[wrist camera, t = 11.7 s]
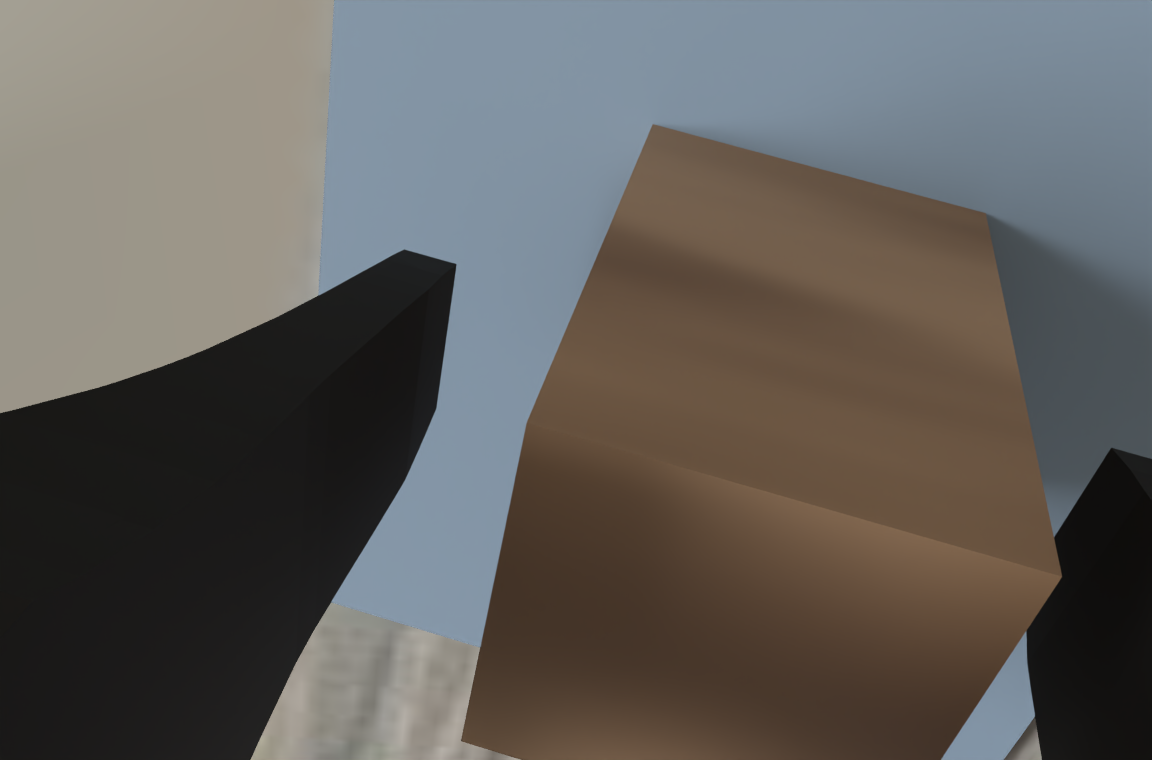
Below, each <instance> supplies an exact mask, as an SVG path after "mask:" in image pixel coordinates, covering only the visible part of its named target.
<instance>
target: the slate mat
mask: <svg viewBox="0 0 1152 760" xmlns="http://www.w3.org/2000/svg"><path fill="white" fill-rule="evenodd" d="M653 124H654V125H658V126H662V127H665V128H669V129H673V130H677V131H680V132H684V133H688V134H692V135H695V136H699V137H703V138H707V139H710V140H714V141H718V142H722V143H725V144H729V145H733V146H737V147H740V148H744V149H748V150H751V151H755V152H759V153H763V154H766V155H770V156H774V157H778V158H781V159H785V160H789V161H793V162H796V163H800V164H804V165H808V166H811V167H815V168H819V169H823V170H826V171H830V172H834V173H838V174H841V175H845V176H849V177H852V178H856V179H860V180H864V181H867V182H871V183H875V184H879V185H882V186H886V187H890V188H894V189H897V190H901V191H905V192H909V193H912V194H916V195H920V196H924V197H927V198H931V199H935V200H938V201H942V202H946V203H950V204H953V205H957V206H961V207H965V208H968V209H972V210H976V211H980V212H983V213H986V217H987V221H988V226H989V231H990V236H991V240H992V245H993V250H994V255H995V259H996V264H997V269H998V274H999V278H1000V283H1001V288H1002V293H1003V298H1004V302H1005V307H1006V312H1007V317H1008V321H1009V326H1010V331H1011V336H1012V340H1013V345H1014V350H1015V355H1016V359H1017V364H1018V369H1019V374H1020V378H1021V383H1022V388H1023V393H1024V397H1025V402H1026V407H1027V412H1028V417H1029V421H1030V426H1031V431H1032V436H1033V440H1034V445H1035V450H1036V455H1037V459H1038V464H1039V469H1040V474H1041V478H1042V483H1043V488H1044V493H1045V497H1046V502H1047V507H1048V512H1049V517H1050V521H1051V526H1052V531H1053V536H1054V537H1055V535H1056V533H1057V532H1058V530H1059V529H1060V527H1061V526H1062V524H1063V522H1064V521H1065V519H1066V518H1067V516H1068V515H1069V513H1070V511H1071V510H1072V508H1073V507H1074V505H1075V504H1076V502H1077V500H1078V499H1079V497H1080V496H1081V494H1082V493H1083V491H1084V489H1085V488H1086V486H1087V485H1088V483H1089V482H1090V480H1091V479H1092V477H1093V475H1094V474H1095V472H1096V471H1097V469H1098V468H1099V466H1100V464H1101V463H1102V461H1103V460H1104V458H1105V457H1106V455H1107V453H1108V452H1109V450H1110V449H1111V448H1115V449H1118V450H1122V451H1125V452H1129V453H1132V454H1136V455H1139V456H1143V457H1147V458H1150V459H1152V0H334V14H333V33H332V52H331V70H330V89H329V108H328V127H327V145H326V164H325V183H324V201H323V220H322V239H321V257H320V276H319V295H321V294H323V293H324V292H326V291H328V290H330V289H332V288H334V287H335V286H337V285H339V284H341V283H343V282H344V281H346V280H348V279H350V278H352V277H354V276H355V275H357V274H359V273H361V272H363V271H364V270H366V269H368V268H370V267H372V266H374V265H375V264H377V263H379V262H381V261H383V260H385V259H386V258H388V257H390V256H392V255H394V254H396V253H398V252H400V251H402V250H404V249H405V250H408V251H412V252H415V253H419V254H423V255H426V256H430V257H433V258H437V259H440V260H444V261H448V262H451V263H455V264H457V266H456V273H455V280H454V288H453V295H452V302H451V309H450V316H449V323H448V330H447V337H446V344H445V351H444V358H443V365H442V372H441V380H440V387H439V394H438V401H437V408H436V411H435V413H434V416H433V418H432V420H431V423H430V425H429V427H428V430H427V432H426V434H425V437H424V439H423V441H422V444H421V446H420V448H419V451H418V453H417V455H416V457H415V459H414V462H413V464H412V466H411V468H410V471H409V473H408V475H407V477H406V479H405V481H404V483H403V485H402V486H401V488H400V490H399V491H398V493H397V495H396V497H395V498H394V500H393V501H392V503H391V505H390V506H389V508H388V510H387V511H386V513H385V515H384V516H383V518H382V520H381V521H380V523H379V525H378V526H377V528H376V530H375V531H374V533H373V535H372V536H371V538H370V539H369V541H368V543H367V544H366V546H365V548H364V549H363V551H362V552H361V554H360V556H359V557H358V559H357V561H356V562H355V564H354V566H353V567H352V569H351V570H350V572H349V574H348V575H347V577H346V579H345V580H344V582H343V583H342V585H341V587H340V588H339V590H338V592H337V593H336V595H335V597H334V598H333V600H332V601H331V602H332V603H335V604H338V605H342V606H345V607H348V608H352V609H355V610H358V611H361V612H365V613H368V614H371V615H375V616H378V617H381V618H385V619H388V620H391V621H394V622H398V623H401V624H404V625H408V626H411V627H414V628H417V629H421V630H424V631H427V632H431V633H434V634H437V635H441V636H444V637H447V638H450V639H454V640H457V641H460V642H464V643H467V644H470V645H473V646H477V647H481V642H482V637H483V632H484V627H485V622H486V618H487V613H488V608H489V603H490V598H491V593H492V588H493V584H494V579H495V574H496V569H497V564H498V559H499V554H500V550H501V545H502V540H503V535H504V530H505V525H506V520H507V516H508V511H509V506H510V501H511V496H512V491H513V486H514V482H515V477H516V472H517V467H518V462H519V457H520V452H521V447H522V443H523V438H524V433H525V428H526V423H527V420H528V418H529V416H530V413H531V411H532V409H533V406H534V404H535V402H536V399H537V397H538V394H539V392H540V390H541V387H542V385H543V383H544V380H545V378H546V376H547V373H548V371H549V368H550V366H551V364H552V361H553V359H554V357H555V354H556V352H557V349H558V347H559V345H560V342H561V340H562V338H563V335H564V333H565V331H566V328H567V326H568V323H569V321H570V319H571V316H572V314H573V312H574V309H575V307H576V305H577V302H578V300H579V297H580V295H581V293H582V290H583V288H584V286H585V283H586V281H587V279H588V276H589V274H590V271H591V269H592V267H593V264H594V262H595V260H596V257H597V255H598V252H599V250H600V248H601V245H602V243H603V241H604V238H605V236H606V234H607V231H608V229H609V226H610V224H611V222H612V219H613V217H614V215H615V212H616V210H617V208H618V205H619V203H620V200H621V198H622V196H623V193H624V191H625V189H626V186H627V184H628V181H629V179H630V177H631V174H632V172H633V170H634V167H635V165H636V163H637V160H638V158H639V155H640V153H641V151H642V148H643V146H644V144H645V141H646V139H647V137H648V134H649V132H650V129H651V127H652V125H653ZM319 295H318V296H319ZM1034 717H1035V712H1034V706H1033V700H1032V693H1031V687H1030V680H1029V673H1028V665H1027V636H1026V632H1025V634H1024V635H1023V637H1022V638H1021V640H1020V641H1019V643H1018V644H1017V646H1016V647H1015V649H1014V650H1013V652H1012V653H1011V655H1010V656H1009V658H1008V659H1007V661H1006V662H1005V664H1004V665H1003V667H1002V668H1001V670H1000V671H999V673H998V674H997V676H996V677H995V679H994V680H993V682H992V683H991V685H990V686H989V688H988V689H987V691H986V693H985V694H984V696H983V697H982V699H981V700H980V702H979V703H978V705H977V706H976V708H975V709H974V711H973V712H972V714H971V715H970V717H969V718H968V720H967V721H966V723H965V724H964V726H963V727H962V729H961V730H960V732H959V733H958V735H957V736H956V738H955V739H954V741H953V742H952V744H951V745H950V747H949V748H948V750H947V751H946V753H945V754H944V756H943V757H942V759H941V760H1004V759H1005V757H1006V756H1007V754H1008V753H1009V752H1010V750H1011V749H1012V748H1013V746H1014V745H1015V743H1016V742H1017V741H1018V739H1019V738H1020V736H1021V735H1022V734H1023V732H1024V731H1025V730H1026V728H1027V727H1028V725H1029V724H1030V723H1031V721H1032V720H1033V719H1034Z"/></svg>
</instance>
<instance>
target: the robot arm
mask: <svg viewBox="0 0 1152 760" xmlns="http://www.w3.org/2000/svg"><path fill="white" fill-rule="evenodd" d="M456 266H457V264H455V263H451V262H448V261H444V260H440V259H437V258H433V257H430V256H426V255H423V254H419V253H415V252H412V251H408V250H405V249H404V250H402V251H400V252H398V253H396V254H394V255H392V256H390V257H388V258H386V259H385V260H383V261H381V262H379V263H377V264H375V265H374V266H372V267H370V268H368V269H366V270H364V271H363V272H361V273H359V274H357V275H355V276H354V277H352V278H350V279H348V280H346V281H344V282H343V283H341V284H339V285H337V286H335V287H334V288H332V289H330V290H328V291H326V292H324V293H323V294H321V295H319V296H317V297H315V298H313V299H311V300H309V301H307V302H305V303H304V304H302V305H300V306H298V307H296V308H294V309H292V310H290V311H288V312H286V313H284V314H282V315H280V316H278V317H276V318H274V319H272V320H270V321H268V322H265V323H263V324H261V325H259V326H257V327H255V328H252V329H250V330H248V331H246V332H244V333H241V334H239V335H237V336H235V337H232V338H230V339H228V340H226V341H224V342H222V343H219V344H217V345H215V346H213V347H210V348H209V349H206V350H204V351H201V352H199V353H196V354H194V355H191V356H189V357H187V358H184V359H181V360H178V361H176V362H174V363H170V364H168V365H165V366H163V367H160V368H157V369H154V370H151V371H148V372H145V373H142V374H139V375H136V376H133V377H130V378H128V379H124V380H122V381H118V382H116V383H112V384H109V385H106V386H102V387H99V388H95V389H92V390H88V391H84V392H80V393H77V394H73V395H69V396H65V397H61V398H58V399H54V400H50V401H46V402H42V403H39V404H35V405H31V406H28V407H23V408H20V409H16V410H12V411H8V412H3V413H0V760H250V759H251V757H252V755H253V753H254V751H255V748H256V746H257V744H258V742H259V740H260V737H261V735H262V733H263V731H264V729H265V727H266V725H267V723H268V721H269V718H270V716H271V714H272V712H273V710H274V708H275V706H276V704H277V702H278V699H279V697H280V695H281V693H282V691H283V689H284V687H285V685H286V683H287V680H288V678H289V676H290V674H291V672H292V670H293V668H294V666H295V664H296V662H297V660H298V658H299V656H300V655H301V653H302V651H303V649H304V647H305V645H306V644H307V642H308V640H309V638H310V636H311V635H312V633H313V631H314V629H315V628H316V626H317V624H318V623H319V621H320V619H321V618H322V616H323V614H324V613H325V611H326V610H327V608H328V606H329V605H330V603H331V601H332V600H333V598H334V597H335V595H336V593H337V592H338V590H339V588H340V587H341V585H342V583H343V582H344V580H345V579H346V577H347V575H348V574H349V572H350V570H351V569H352V567H353V566H354V564H355V562H356V561H357V559H358V557H359V556H360V554H361V552H362V551H363V549H364V548H365V546H366V544H367V543H368V541H369V539H370V538H371V536H372V535H373V533H374V531H375V530H376V528H377V526H378V525H379V523H380V521H381V520H382V518H383V516H384V515H385V513H386V511H387V510H388V508H389V506H390V505H391V503H392V501H393V500H394V498H395V497H396V495H397V493H398V491H399V490H400V488H401V486H402V485H403V483H404V481H405V479H406V477H407V475H408V473H409V471H410V468H411V466H412V464H413V462H414V459H415V457H416V455H417V453H418V451H419V448H420V446H421V444H422V441H423V439H424V437H425V434H426V432H427V430H428V427H429V425H430V423H431V420H432V418H433V416H434V413H435V411H436V408H437V401H438V394H439V387H440V380H441V372H442V365H443V358H444V351H445V344H446V337H447V330H448V323H449V316H450V309H451V302H452V295H453V288H454V280H455V273H456ZM1054 540H1055V545H1056V550H1057V555H1058V559H1059V564H1060V569H1061V574H1062V578H1061V579H1060V581H1059V582H1058V584H1057V585H1056V587H1055V588H1054V590H1053V591H1052V593H1051V594H1050V596H1049V597H1048V599H1047V600H1046V602H1045V603H1044V605H1043V606H1042V608H1041V609H1040V611H1039V612H1038V614H1037V615H1036V617H1035V618H1034V620H1033V622H1032V623H1031V625H1030V626H1029V628H1028V629H1027V631H1026V636H1027V665H1028V673H1029V680H1030V687H1031V693H1032V700H1033V706H1034V712H1035V719H1036V725H1037V732H1038V738H1039V744H1040V749H1041V755H1042V760H1152V459H1150V458H1147V457H1143V456H1139V455H1136V454H1132V453H1129V452H1125V451H1122V450H1118V449H1115V448H1111V449H1110V450H1109V452H1108V453H1107V455H1106V457H1105V458H1104V460H1103V461H1102V463H1101V464H1100V466H1099V468H1098V469H1097V471H1096V472H1095V474H1094V475H1093V477H1092V479H1091V480H1090V482H1089V483H1088V485H1087V486H1086V488H1085V489H1084V491H1083V493H1082V494H1081V496H1080V497H1079V499H1078V500H1077V502H1076V504H1075V505H1074V507H1073V508H1072V510H1071V511H1070V513H1069V515H1068V516H1067V518H1066V519H1065V521H1064V522H1063V524H1062V526H1061V527H1060V529H1059V530H1058V532H1057V533H1056V535H1055V537H1054Z"/></svg>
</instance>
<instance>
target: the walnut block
mask: <svg viewBox="0 0 1152 760" xmlns="http://www.w3.org/2000/svg"><path fill="white" fill-rule="evenodd" d="M1061 578H1062V574H1061V569H1060V564H1059V559H1058V555H1057V550H1056V545H1055V540H1054V536H1053V531H1052V526H1051V521H1050V517H1049V512H1048V507H1047V502H1046V497H1045V493H1044V488H1043V483H1042V478H1041V474H1040V469H1039V464H1038V459H1037V455H1036V450H1035V445H1034V440H1033V436H1032V431H1031V426H1030V421H1029V417H1028V412H1027V407H1026V402H1025V397H1024V393H1023V388H1022V383H1021V378H1020V374H1019V369H1018V364H1017V359H1016V355H1015V350H1014V345H1013V340H1012V336H1011V331H1010V326H1009V321H1008V317H1007V312H1006V307H1005V302H1004V298H1003V293H1002V288H1001V283H1000V278H999V274H998V269H997V264H996V259H995V255H994V250H993V245H992V240H991V236H990V231H989V226H988V221H987V217H986V213H983V212H980V211H976V210H972V209H968V208H965V207H961V206H957V205H953V204H950V203H946V202H942V201H938V200H935V199H931V198H927V197H924V196H920V195H916V194H912V193H909V192H905V191H901V190H897V189H894V188H890V187H886V186H882V185H879V184H875V183H871V182H867V181H864V180H860V179H856V178H852V177H849V176H845V175H841V174H838V173H834V172H830V171H826V170H823V169H819V168H815V167H811V166H808V165H804V164H800V163H796V162H793V161H789V160H785V159H781V158H778V157H774V156H770V155H766V154H763V153H759V152H755V151H751V150H748V149H744V148H740V147H737V146H733V145H729V144H725V143H722V142H718V141H714V140H710V139H707V138H703V137H699V136H695V135H692V134H688V133H684V132H680V131H677V130H673V129H669V128H665V127H662V126H658V125H654V124H653V125H652V127H651V129H650V132H649V134H648V137H647V139H646V141H645V144H644V146H643V148H642V151H641V153H640V155H639V158H638V160H637V163H636V165H635V167H634V170H633V172H632V174H631V177H630V179H629V181H628V184H627V186H626V189H625V191H624V193H623V196H622V198H621V200H620V203H619V205H618V208H617V210H616V212H615V215H614V217H613V219H612V222H611V224H610V226H609V229H608V231H607V234H606V236H605V238H604V241H603V243H602V245H601V248H600V250H599V252H598V255H597V257H596V260H595V262H594V264H593V267H592V269H591V271H590V274H589V276H588V279H587V281H586V283H585V286H584V288H583V290H582V293H581V295H580V297H579V300H578V302H577V305H576V307H575V309H574V312H573V314H572V316H571V319H570V321H569V323H568V326H567V328H566V331H565V333H564V335H563V338H562V340H561V342H560V345H559V347H558V349H557V352H556V354H555V357H554V359H553V361H552V364H551V366H550V368H549V371H548V373H547V376H546V378H545V380H544V383H543V385H542V387H541V390H540V392H539V394H538V397H537V399H536V402H535V404H534V406H533V409H532V411H531V413H530V416H529V418H528V420H527V423H526V428H525V433H524V438H523V443H522V447H521V452H520V457H519V462H518V467H517V472H516V477H515V482H514V486H513V491H512V496H511V501H510V506H509V511H508V516H507V520H506V525H505V530H504V535H503V540H502V545H501V550H500V554H499V559H498V564H497V569H496V574H495V579H494V584H493V588H492V593H491V598H490V603H489V608H488V613H487V618H486V622H485V627H484V632H483V637H482V642H481V647H480V652H479V656H478V661H477V666H476V671H475V676H474V681H473V686H472V690H471V695H470V700H469V705H468V710H467V715H466V720H465V724H464V729H463V734H462V739H461V741H462V742H466V743H469V744H472V745H475V746H479V747H482V748H485V749H488V750H492V751H495V752H498V753H501V754H505V755H508V756H511V757H514V758H518V759H521V760H941V759H942V757H943V756H944V754H945V753H946V751H947V750H948V748H949V747H950V745H951V744H952V742H953V741H954V739H955V738H956V736H957V735H958V733H959V732H960V730H961V729H962V727H963V726H964V724H965V723H966V721H967V720H968V718H969V717H970V715H971V714H972V712H973V711H974V709H975V708H976V706H977V705H978V703H979V702H980V700H981V699H982V697H983V696H984V694H985V693H986V691H987V689H988V688H989V686H990V685H991V683H992V682H993V680H994V679H995V677H996V676H997V674H998V673H999V671H1000V670H1001V668H1002V667H1003V665H1004V664H1005V662H1006V661H1007V659H1008V658H1009V656H1010V655H1011V653H1012V652H1013V650H1014V649H1015V647H1016V646H1017V644H1018V643H1019V641H1020V640H1021V638H1022V637H1023V635H1024V634H1025V632H1026V631H1027V629H1028V628H1029V626H1030V625H1031V623H1032V622H1033V620H1034V618H1035V617H1036V615H1037V614H1038V612H1039V611H1040V609H1041V608H1042V606H1043V605H1044V603H1045V602H1046V600H1047V599H1048V597H1049V596H1050V594H1051V593H1052V591H1053V590H1054V588H1055V587H1056V585H1057V584H1058V582H1059V581H1060V579H1061Z"/></svg>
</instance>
